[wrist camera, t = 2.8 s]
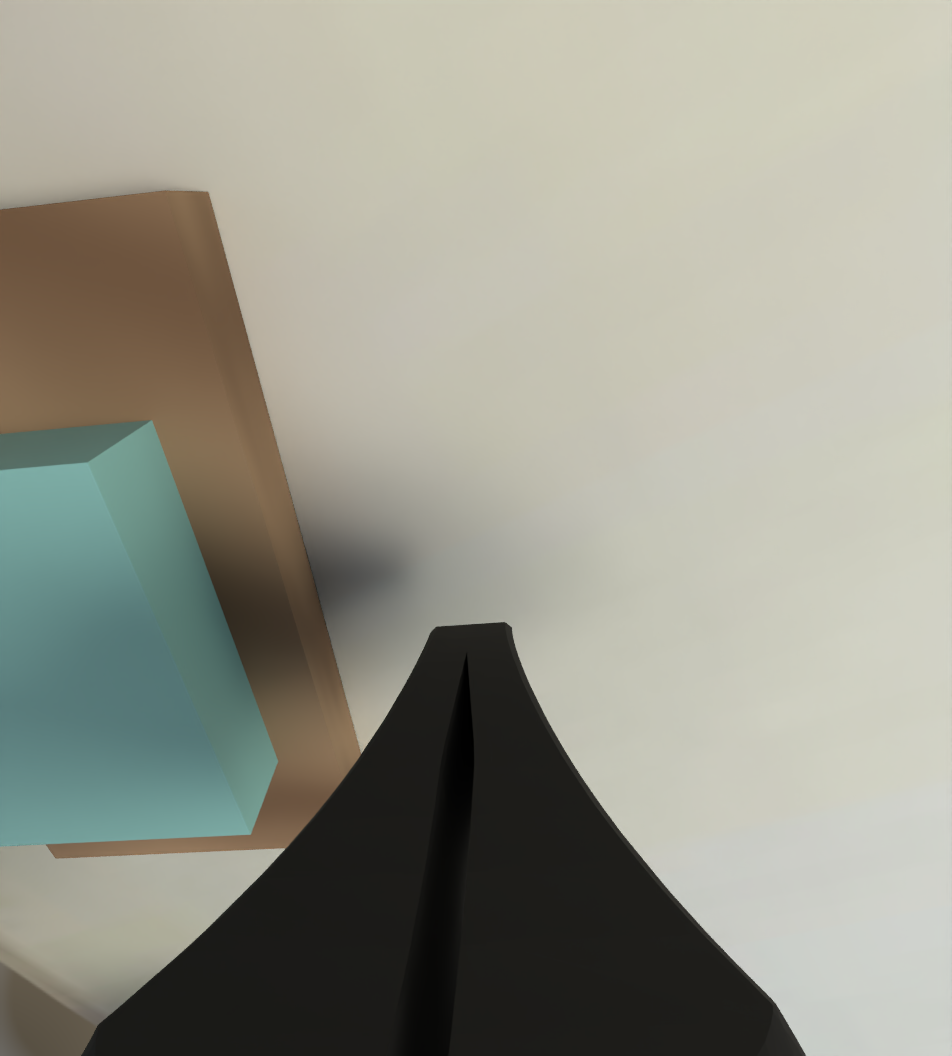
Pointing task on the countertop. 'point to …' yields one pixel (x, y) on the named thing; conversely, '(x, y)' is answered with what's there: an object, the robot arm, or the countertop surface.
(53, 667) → the teal rectangular block
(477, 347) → the countertop surface
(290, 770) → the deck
